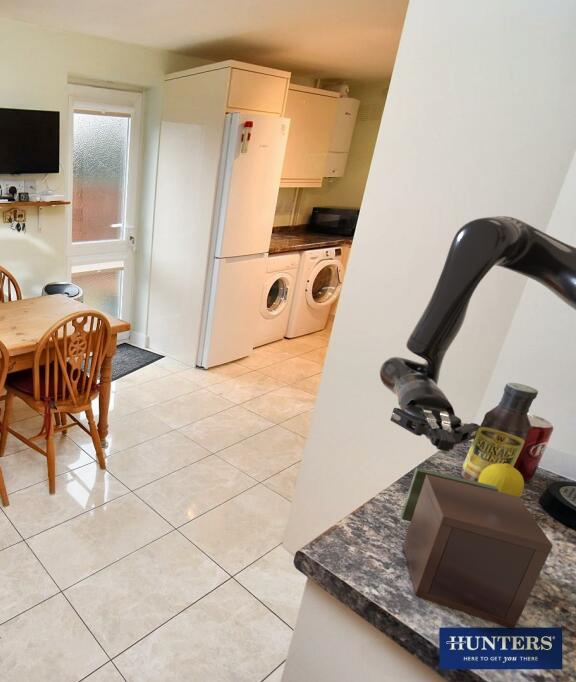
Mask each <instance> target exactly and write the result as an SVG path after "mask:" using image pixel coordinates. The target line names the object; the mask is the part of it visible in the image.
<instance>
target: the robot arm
mask: <svg viewBox="0 0 576 682" xmlns="http://www.w3.org/2000/svg"><path fill="white" fill-rule="evenodd" d="M495 266H497V267H500V268H503V269H507V270H509V271H511V272H514V273H517V274H520V275H521V276H524V277H527V278H529V279H531V280H533V281H535V282H537V283H539V284H541V285H542V286H543V287H545V288H546V289H547V290H549V291H550V292H551V293H553V294H554V295H555V296H556V297H557V298H559V300H561V301H562V302H563V303H565V304H566V305H567V306H568V307H570V308H572V309H573V310H575V311H576V247H575V246H572V245H570V244H569V243H566V242H563V241H562V240H559V239H557V238H555V237H554V236H551V235H549V234H547V233H546V232H544V231H542V230H540V229H538V228H536V227H534V226H532V225H530V224H529V223H527V222H525V221H523V220H521V219H518V218H516V217H513V216H506V215H505V216H504V215H498V216H485V217H479V218H476V219H473V220H470V221H468V222H466V223H465V224H463V225H462V226H461V227H460V228H459V229H458V230H457V231H456V233H455V235H454V237H453V238H452V241H451V243H450V246H449V248H448V252H447V255H446V259H445V262H444V265H443V268H442V270H441V272H440V275H439V278H438V280H437V283H436V285H435V288H434V290H433V292H432V294H431V296H430V298H429V300H428V303H427V305H426V307H425V308H424V310H423V312H422V314H421V316H420V318H419V319H418V321H417V323H416V325H415V326H414V328H413V330H412V331H411V333H410V335H409V337H408V339H407V341H406V344H405V346H406V349H407V350H408V351H409V352H411V353H412V354H414V355H416V356H418V357H420V358H421V359H423V360H424V361H425V362H424V363H422V362H418V361H414V360H412V359H408V358H405V357H401V356H393V357H389V358H387V359H386V360H385V361H384V362H383V363H382V364H381V366H380V369H379V379H380V381H381V383H382V385H383V387H386V389H388V390H389V391H390V392H391V393H393V394H394V395H396V397H397V403H398V406H399V407H400V408H399V407H393V409H392V413H391V415H390V422H392V423H394V424H395V425H397V426H399V427H401V428H403V429H404V430H406V431H408V432H410V433H412V434H414V435H416V436H419V437H421V436H422V435H423V436H425V437H426V439H427V440H429V441H430V443H431V445H433V446H434V447H436V450H438V451H439V450H440V451H444V452H447V453H449V452H450V450H454V448H455V446H456V445H461V444H464V443H467V442H469V441H472V440H474V439H475V438H476V435H477V432H478V429H479V427H480V424H477V423H476V422H475V423H474V422H470V423H468V422H467V423H466V422H465V423H464V422H462V419H461V418H460V417H459V416H457V415H456V414H455V409H454V407H453V405H452V404H451V402H450V401H449V399H448V397H447V396H446V395H445V393H444V392H443V390H442V389H441V388H440V387H438V384H439V379H440V374H441V369H442V365H443V361H444V358H445V356H446V354H447V352H448V350H449V348H450V346H451V345H452V344H453V342H454V341H455V339H456V337H457V336H458V334H459V332H460V331H461V329H462V327H463V324H464V322H465V319H466V316H467V312H468V308H469V305H470V301H471V299H472V296H473V295H474V292H475V291H476V290H477V288H478V286H479V284H480V283H481V282H482V280H483V279H484V278H485V277H486V275H487V274H488V273H489V272H490V271H491V270H492V268H493V267H495Z"/></svg>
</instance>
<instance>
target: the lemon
mask: <svg viewBox="0 0 576 682" xmlns="http://www.w3.org/2000/svg"><path fill="white" fill-rule="evenodd" d="M478 482H480V483H484V484H488V485H492V486H496V487H497V488H498V490H499V491H498V492H502V493H506V494H510V495H514V496H519V497H520V498H521V496H522V494H523V492H524V488H525V483H524V480H523V477H522V475H521V474H520V472H519V471H518V470H516V469H515V468H514V467H512V466H511V465H510V464H507V463H505V464H501V463H497V464H492V465H489V466H487V467H486V468H485V469H484V470H483V471H482V472H481V474H480V476H479V479H478Z"/></svg>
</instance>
